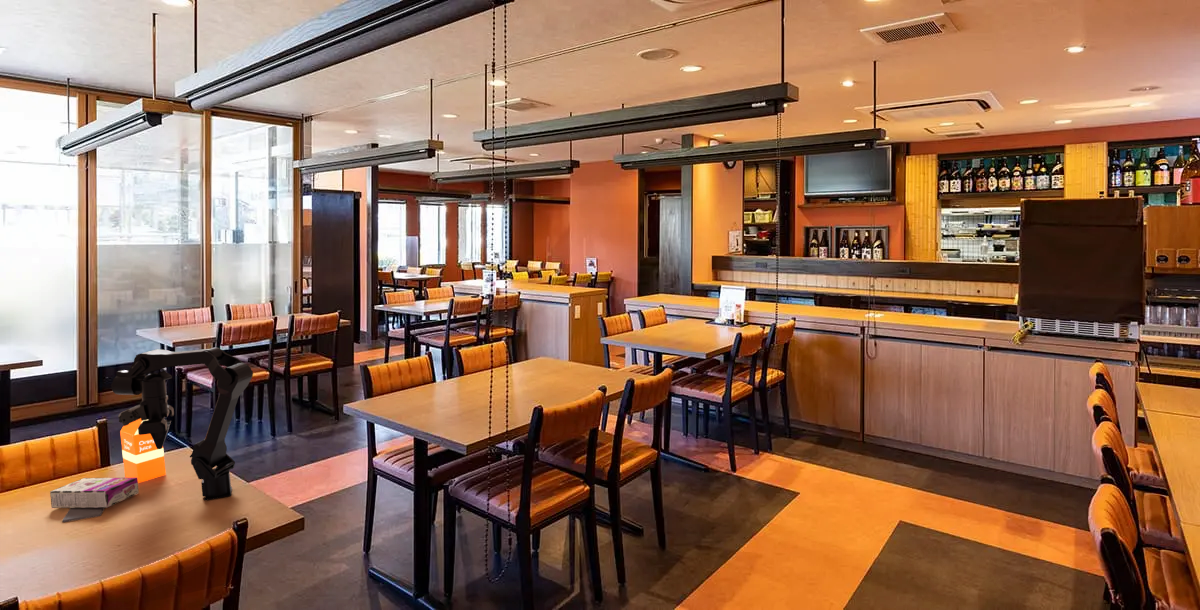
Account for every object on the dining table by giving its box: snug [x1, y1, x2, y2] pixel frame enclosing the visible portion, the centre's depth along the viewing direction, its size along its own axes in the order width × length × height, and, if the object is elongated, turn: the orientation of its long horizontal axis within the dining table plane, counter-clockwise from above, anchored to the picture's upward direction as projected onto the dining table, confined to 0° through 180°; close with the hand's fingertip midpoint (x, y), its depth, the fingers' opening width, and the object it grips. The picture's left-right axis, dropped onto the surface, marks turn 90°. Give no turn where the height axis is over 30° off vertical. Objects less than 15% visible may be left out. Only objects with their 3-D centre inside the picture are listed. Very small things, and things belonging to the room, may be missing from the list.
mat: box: [61, 508, 105, 523], centre depth 177 cm, size 8×9×1 cm
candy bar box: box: [49, 477, 140, 509], centre depth 182 cm, size 11×5×16 cm
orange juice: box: [119, 418, 167, 484], centre depth 200 cm, size 8×9×20 cm
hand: (159, 448), depth 187 cm, fingers closed
